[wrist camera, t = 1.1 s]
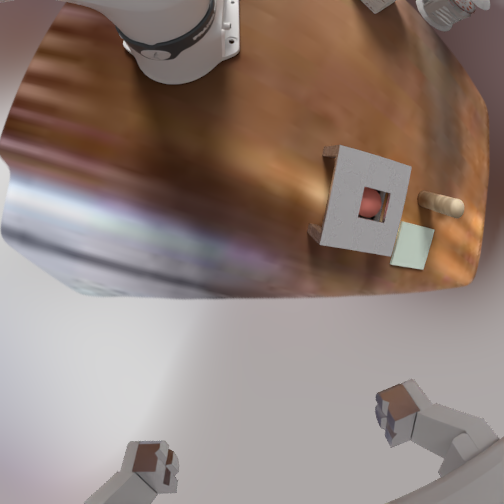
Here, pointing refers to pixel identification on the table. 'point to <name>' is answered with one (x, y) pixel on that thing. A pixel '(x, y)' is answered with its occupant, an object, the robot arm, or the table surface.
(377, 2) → the supplement box
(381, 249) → the box
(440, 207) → the dowel
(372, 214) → the button
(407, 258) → the coaster
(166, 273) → the table surface
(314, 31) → the table surface
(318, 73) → the table surface
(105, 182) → the table surface
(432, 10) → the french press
